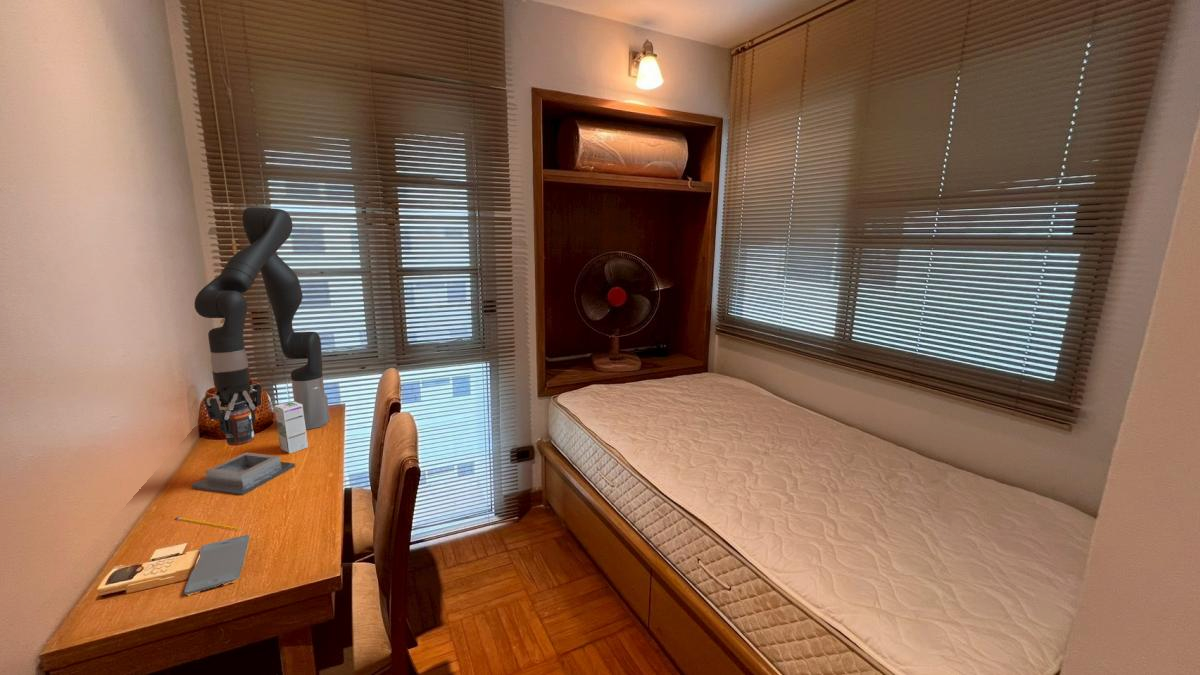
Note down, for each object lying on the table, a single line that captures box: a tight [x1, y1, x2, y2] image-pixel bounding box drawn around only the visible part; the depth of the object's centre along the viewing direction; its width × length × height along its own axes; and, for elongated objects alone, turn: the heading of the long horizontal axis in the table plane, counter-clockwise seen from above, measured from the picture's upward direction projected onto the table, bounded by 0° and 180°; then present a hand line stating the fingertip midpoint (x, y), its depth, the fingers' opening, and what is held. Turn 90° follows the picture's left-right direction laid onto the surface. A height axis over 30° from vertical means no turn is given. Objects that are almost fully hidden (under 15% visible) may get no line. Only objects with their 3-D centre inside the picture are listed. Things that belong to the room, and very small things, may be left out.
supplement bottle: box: [224, 401, 255, 447], centre depth 125 cm, size 6×6×11 cm
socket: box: [190, 452, 296, 496], centre depth 127 cm, size 16×16×4 cm
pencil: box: [174, 516, 242, 531], centre depth 106 cm, size 1×18×1 cm, turn 77°
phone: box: [183, 534, 250, 595], centre depth 93 cm, size 8×16×1 cm, turn 30°
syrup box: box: [274, 400, 309, 454], centre depth 144 cm, size 6×6×14 cm
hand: (239, 427), depth 125 cm, fingers closed on supplement bottle, 6 cm apart
